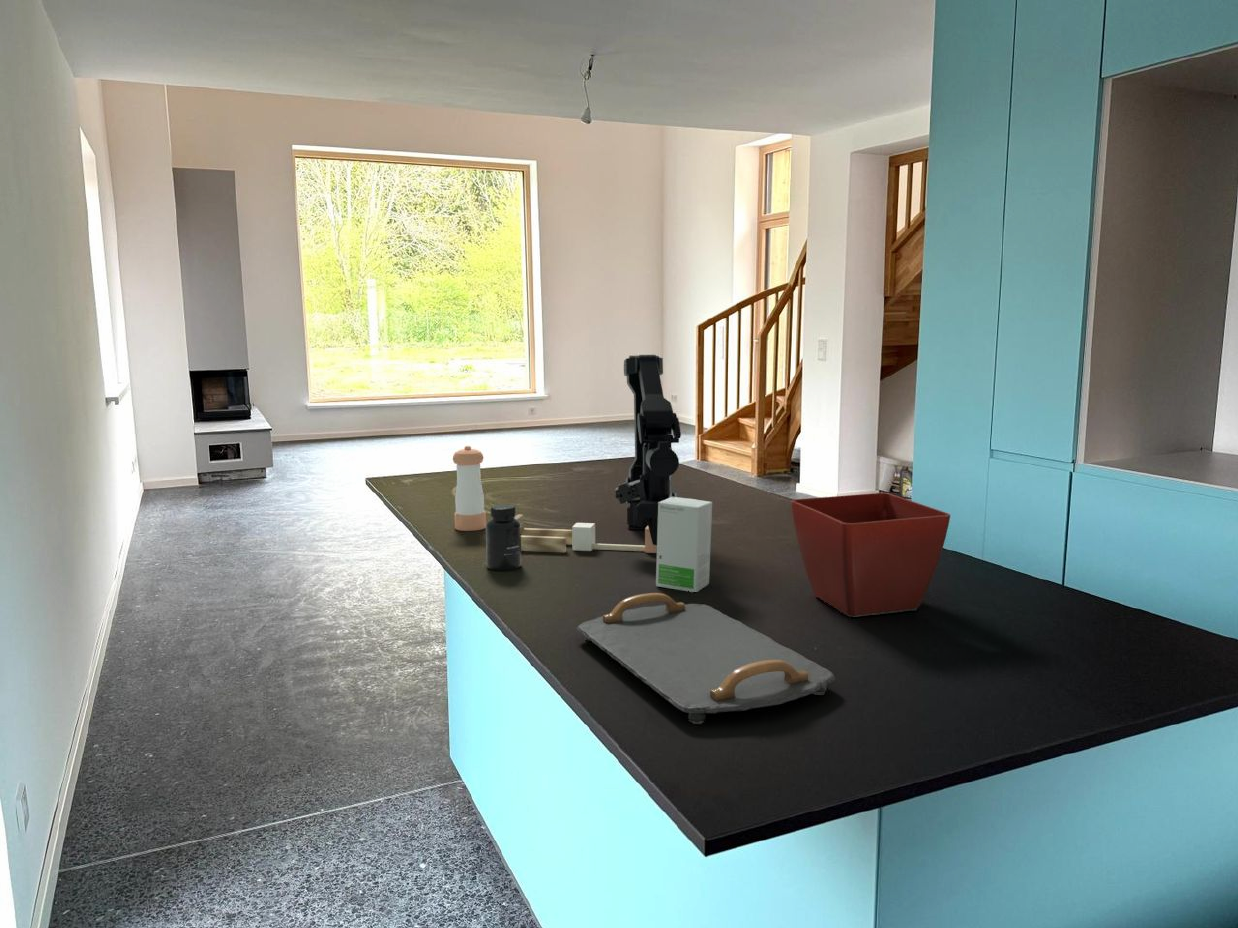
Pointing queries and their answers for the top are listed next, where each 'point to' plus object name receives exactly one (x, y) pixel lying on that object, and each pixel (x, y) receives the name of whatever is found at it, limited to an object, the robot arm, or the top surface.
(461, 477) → the pepper shaker
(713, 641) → the serving board
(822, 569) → the plant pot
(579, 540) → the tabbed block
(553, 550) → the oak lane
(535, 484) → the top surface
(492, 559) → the supplement bottle
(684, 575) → the skincare box
